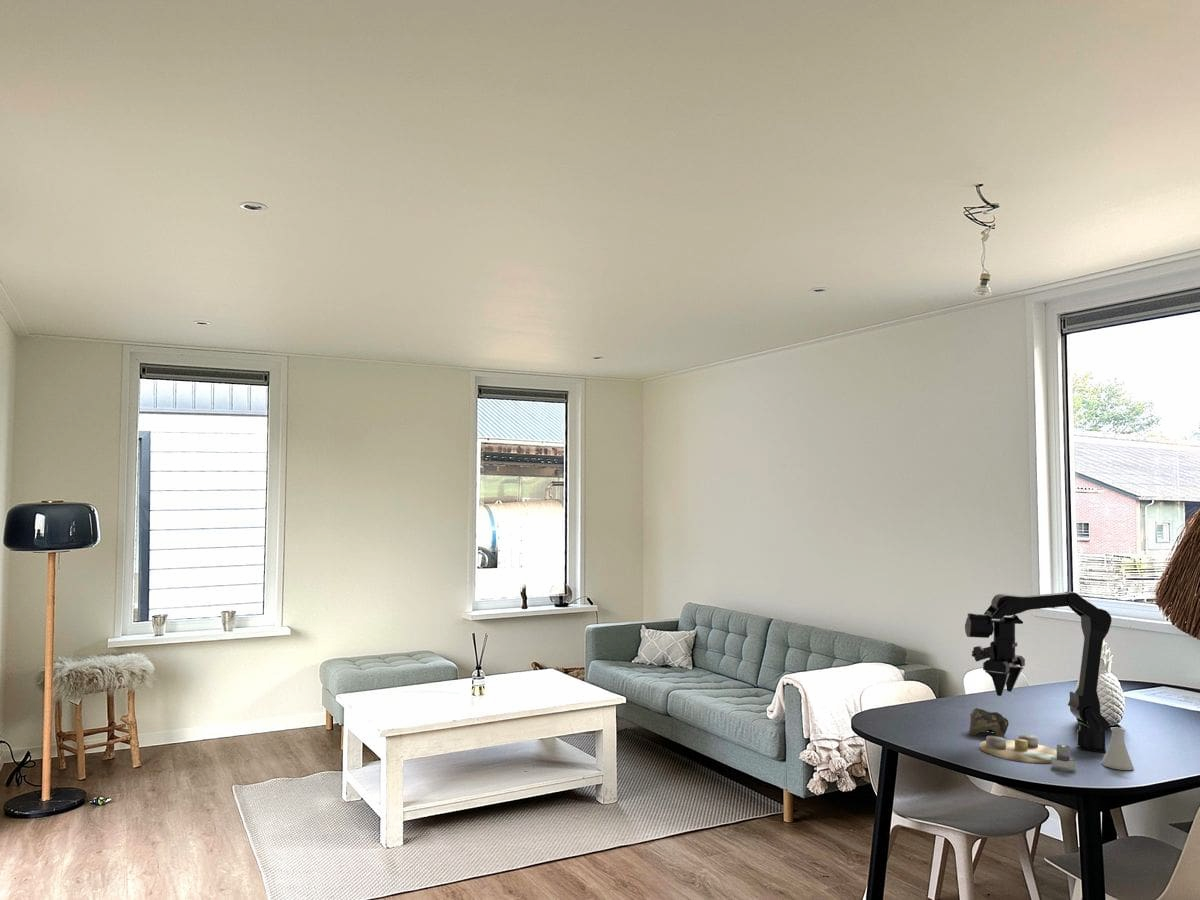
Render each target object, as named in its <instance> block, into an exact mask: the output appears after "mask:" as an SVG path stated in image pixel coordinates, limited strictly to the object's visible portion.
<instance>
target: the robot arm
mask: <svg viewBox="0 0 1200 900" xmlns="http://www.w3.org/2000/svg"><path fill="white" fill-rule="evenodd" d="M990 602H991V603H990V605H989V606H988V608H987V609H986V610H985V611H984V613H982V614H976V613H971V612H968V613H967V618H966V620H965V623H964V630H965V635H966V637H967V638H982V639H989V638H990V636H993V640H992V641H991V642H990V643H989V646H987V647H982V646H981V645H978V646H974V647H973V648H972V649H973V650H972V651H971V657H972V658H973V657H974V660H975V662H980V661H983V660H984V662H983V663H982V670H983V671H985V673H987V674H988V675H989V676H990V677H991V680H992V682H993V685H994V689H995V692H996V696H997V697H1001V696H1003V693H1004V690H1005V687H1006V690H1007V692H1011V693H1012V691H1013V690H1014V687H1015V686H1016V683H1017V680H1018V679H1019V677H1020V674H1021V673H1022V671H1023V670H1024V667H1025V666H1026V660H1025V659H1026V658H1025V657H1023V656H1022V655H1017V654H1016V647H1018V642H1016V624H1017V625H1021V624H1023V623H1024V622H1023V621H1022V619H1020V618H1019V616H1018V615H1017V614H1021V613H1025V612H1027V611H1030V610H1040V609H1051V608H1063V607H1068V608H1070V609H1071V610H1072V612H1074V614H1076V615H1078V616H1079V617H1080V623H1081V625H1080V626H1081V629H1082V634H1083V648H1082V656H1081V664H1080V673H1079V680H1078V686H1077V689H1076V690H1075V692H1074V691H1069V700H1068V703H1067V706H1068V707H1069V711H1070V713H1071V714H1072V716H1074V717H1075V719H1076V721H1077V723H1078V724H1079V728H1078V729H1077V730H1076V731H1077V733H1076V734H1077V735H1076V737H1077V739H1076V744H1077V746H1078V747H1079V750H1085V751H1092V752H1100V753H1106V752H1107V749H1106V731H1108V730H1109V727H1110V725H1111V724H1110V722H1109V721H1108V720H1107V719H1106V717H1104V716H1103V715H1102V713H1101V702H1100V699H1099V694H1098V683H1099V674H1100V668H1101V667H1100V666H1101V656H1102V649H1103V642H1104V640H1105V638H1106V636H1107V634H1108V633H1109V632H1110V631H1109V630H1110V627H1111V624H1112V620H1113V619H1112V615H1111V614H1110V613H1109V612H1108V611H1107V610H1106V609H1102V608H1098V607H1096V606H1095V605H1094V604H1093V603H1091V602H1090V601H1088V600H1086V599H1084V597H1082V596H1081V595H1080V594H1078V592H1073V591H1069V590H1068V591H1064V592H1058V593H1057V592H1055V593H1045V594H1034V595H1015V594H1005V593H999V594H995V595H994V597H992V599H991V601H990ZM1023 625H1024V624H1023ZM986 659H987V660H986Z"/></svg>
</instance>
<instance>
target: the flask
mask: <svg viewBox="0 0 1200 900" xmlns="http://www.w3.org/2000/svg"><path fill="white" fill-rule="evenodd" d="M1110 730H1111V737H1110V738H1111V739H1110V743H1109V745H1108V747H1107V749H1106V752H1105V754H1104V756H1103V758H1102V761H1101V764H1102V765H1103V766H1104V767H1107V768H1110V769H1113V770H1121V771H1132V770H1135V768H1134V766H1133V763H1132V759H1131V757H1130V754H1129V752H1128V749H1127V747H1126V743H1125V737H1124V735H1125V732H1126V730H1125V729H1124V728H1122V727H1115V726H1114V727H1110Z"/></svg>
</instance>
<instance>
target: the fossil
mask: <svg viewBox="0 0 1200 900" xmlns="http://www.w3.org/2000/svg"><path fill="white" fill-rule="evenodd" d="M969 719H970V723H969V733H970V735H972V736H973V735H974V736H975V735H978V734H979V733H981V732H985V731H989V732H994V733H993V734H994V736H997V737H1002V738H1004V736H1005V735H1006V732H1007V730H1008V727H1009V719H1008V718H1007V717H1004V716H1003V715H1002V714H1001V713H999V712H997V711H989V710H986V709H984V708H980V707H976V708H973V709H972V712H970V718H969ZM989 732H988V733H989ZM974 736H973V737H974Z"/></svg>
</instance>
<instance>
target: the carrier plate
mask: <svg viewBox="0 0 1200 900" xmlns="http://www.w3.org/2000/svg"><path fill="white" fill-rule="evenodd" d="M1017 736H1018V737H1017V738H1015V739H1014V740H1011V739H1006V738H1004V737H1003V738H1002V737H997V736H996V735H986V738H985V740H982V741H981V742H980V743H979V749H980V750H981V751H982V752H984V753H986V754H988V755H991V756H993V757H997V758H1001V759H1004V760H1005V759H1006V760H1010V761H1015V762H1021V763H1029V764H1031V763H1032V764H1051V757H1057V748H1056V749H1055V748H1052V747H1049V746H1046V745H1042V744H1039V737H1038V736H1036V735H1032V734H1027V733H1026V734H1025V733H1024V734H1023V733H1021V734H1018V735H1017Z"/></svg>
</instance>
